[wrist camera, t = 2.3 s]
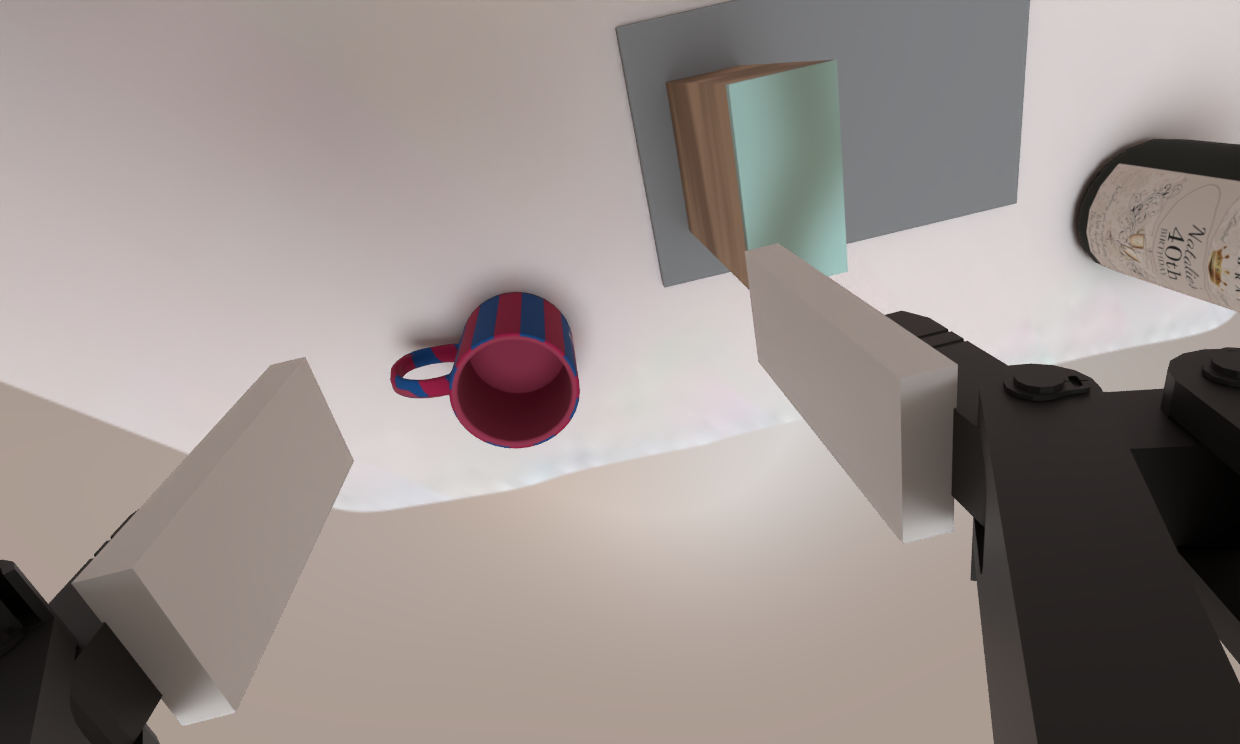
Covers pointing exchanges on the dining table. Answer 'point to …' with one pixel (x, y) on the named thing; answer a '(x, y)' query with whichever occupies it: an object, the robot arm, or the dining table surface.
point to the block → (763, 161)
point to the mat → (850, 104)
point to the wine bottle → (1169, 217)
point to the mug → (504, 372)
